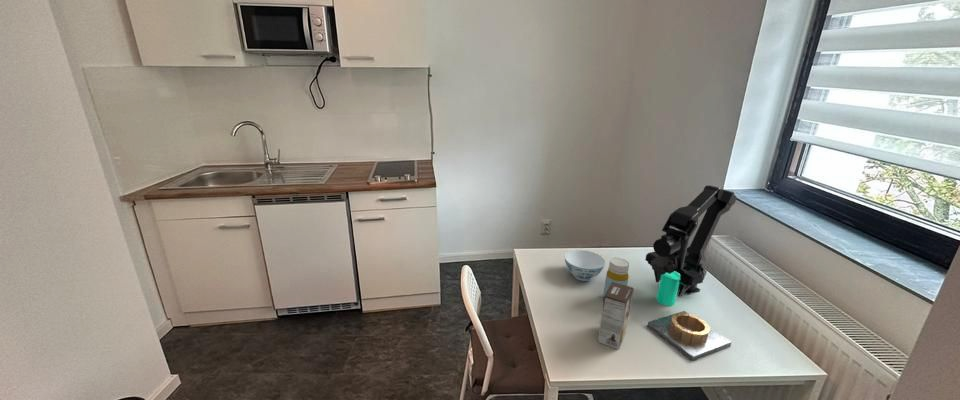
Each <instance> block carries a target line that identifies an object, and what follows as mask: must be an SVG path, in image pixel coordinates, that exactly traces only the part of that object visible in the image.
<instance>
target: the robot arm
mask: <svg viewBox="0 0 960 400" xmlns="http://www.w3.org/2000/svg"><path fill="white" fill-rule="evenodd" d="M736 201H737V195H736V194H735V193H734V191H732V190H728V189H724V188H721V187H719V186H714V185H710V184H709V185H705V186H704V188H703V190H702V191H701V192H700V193H699V194H698V195H697V196H696V197H695V198H694V199H693V200H692V201H691V202H690V203H688V204H687V205H685V206H683V207H682V206H681V207H678V208H677V209H676V210H674V211H673V212H671V213H670V215H669V217H668V218H667V219H666V222H665V224H664V226H663V227H662V229H661V231H662V232H663V233H665V234H662V235H661V236H660V238H658V239H656V240H655V241H654V242H653V244H652V247H653V251H651V252H647V253H646V255H645V261H646V262H647V264H648V265H649V266H651V269H652V271H653V272H654V273H653V274H654V278H655V279H654V280H655V283H656V284H657V283H658V284H659V283H660V278H661V274H662V275H663V274H665V273H669V274H671V273H672V272H674V271H675V272H677V273H678V274H680V275H681V276H680V280H679V282H680V283H679V287H678V292H677V295H678V297H680V298H681V297H682V296H683V295H684V294H687V295H690V294H694V293H697V292H700V291H701V289H700V288H698V287H697V286H698V284H699V285H700V284H703V282H704V280H705V277H706V275H707V268H706V267H705V263H706V257H705V251H706V249H707V246H708V244H709V242H710V240H711V237H712V236H713V233H714V232H715V230H716V228H717V225H718V223H719V221H720V218H721V217H722V215H724V214H726V213H727V212H729V211H730V210H731V208H732V206H734V204H735V203H736ZM703 214H704V216H703V217H702V220H701V222H700V224H699V218H700V217H701V216H702V215H703ZM698 225H699V226H698ZM695 231H696V232H695ZM694 232H695V235H694V237H693V238H692V240H691V243H690V245H689V241H690V237H692V235H693V233H694Z"/></svg>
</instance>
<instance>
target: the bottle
mask: <svg viewBox="0 0 960 400" xmlns="http://www.w3.org/2000/svg"><path fill="white" fill-rule="evenodd" d="M629 269H630V261H628V260H626V259H625V258H621V257H612V258H610V259H609V265H608V269H607V271H606V274H605V279H604V280H605V281H604V288H603V294H602V298H603V299H604V296H605V294H606V292H607V290H608V289H609V287H610V285H611V283H612V282H614V283H618V284H622V285H626V286H628V283H629V282H628V281H629V277H630V275H629Z"/></svg>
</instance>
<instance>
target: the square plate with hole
mask: <svg viewBox="0 0 960 400" xmlns="http://www.w3.org/2000/svg"><path fill="white" fill-rule="evenodd" d="M646 327H647V328H648V329H650V330H651V331H653V332H654V333H655V334H656V335H657V336H659V337H660V338H662V339H663V340H664V341H665V342H667V344H669V345H670V346H672V347H673V348H674V349H676V350H677V351H679V353H681V354H682V355H683V356H685V357H686V358H687V359H688V360H690V361H692V362H693V361H696V360H698V359H701V358H704V357H706V356H709V355H712V354H714V353H716V352H718V351H722V350H724V349H726V348H729V347H731V345H732V341H731V340H730V339H728V338H726V337H725V336H723V335H722V334H721V333H719V332H717V331H716V330H715V329H713V328H712V327H710V326H709V324H708V323H707V322H706V321H705V320H703V319H702V318H700V317H699V316H696V315H693V314H690V313H688V312H686V310H683V311H679V312H676V313H673V314H670V315H666V316H663V317H660V318H657V319H654V320H651V321H650V320H649V321H647V324H646Z"/></svg>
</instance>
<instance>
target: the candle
mask: <svg viewBox="0 0 960 400" xmlns="http://www.w3.org/2000/svg"><path fill="white" fill-rule="evenodd" d="M680 276H681V275H680V274H679V273H677V272H675V271H674V272H672V273H671V274H669V273H665V274H663V275H662V274H661V278H660V281H659V282H658V289H657V294H656V297H655V300H656V301H657V302H658V303H659V304H661V305H663V306H668V307H672V306H675V304H676V301H677V300H676V299H677V295H678V292H679V289H678V287H679V283H680V282H679V280H680Z"/></svg>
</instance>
